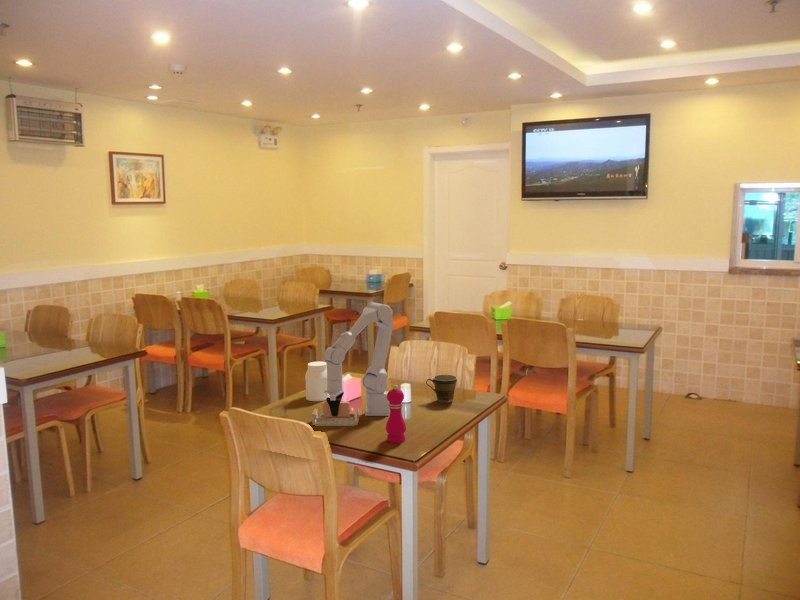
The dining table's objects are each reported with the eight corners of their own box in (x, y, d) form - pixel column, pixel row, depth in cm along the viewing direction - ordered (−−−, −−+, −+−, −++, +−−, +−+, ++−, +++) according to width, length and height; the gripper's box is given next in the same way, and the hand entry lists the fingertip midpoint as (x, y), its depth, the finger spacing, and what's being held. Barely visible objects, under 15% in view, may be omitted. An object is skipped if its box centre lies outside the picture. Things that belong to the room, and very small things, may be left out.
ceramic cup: (457, 397, 279) (457, 374, 277) (456, 404, 269) (456, 381, 268) (427, 397, 280) (426, 374, 279) (425, 404, 270) (425, 380, 269)
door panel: (350, 418, 250) (349, 401, 249) (349, 420, 247) (349, 403, 246) (324, 419, 250) (323, 401, 249) (323, 421, 248) (322, 403, 247)
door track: (359, 418, 253) (358, 407, 252) (357, 425, 245) (357, 414, 244) (315, 419, 253) (315, 408, 252) (312, 426, 245) (311, 414, 244)
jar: (327, 401, 276) (326, 367, 274) (304, 401, 276) (303, 367, 274) (331, 393, 287) (330, 360, 285) (310, 393, 288) (309, 360, 286)
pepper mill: (406, 436, 233) (405, 382, 230) (406, 443, 226) (405, 387, 223) (386, 436, 233) (385, 382, 230) (385, 443, 226) (384, 387, 223)
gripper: (326, 373, 254) (327, 407, 256) (321, 384, 239) (322, 419, 241) (344, 373, 253) (345, 407, 255) (340, 383, 239) (341, 419, 241)
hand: (335, 413), depth 248 cm, fingers open, 5 cm apart
